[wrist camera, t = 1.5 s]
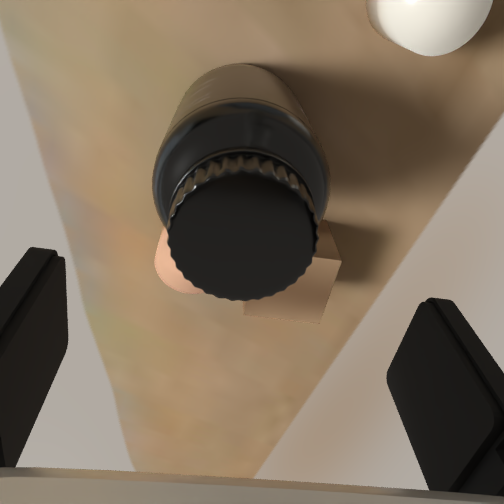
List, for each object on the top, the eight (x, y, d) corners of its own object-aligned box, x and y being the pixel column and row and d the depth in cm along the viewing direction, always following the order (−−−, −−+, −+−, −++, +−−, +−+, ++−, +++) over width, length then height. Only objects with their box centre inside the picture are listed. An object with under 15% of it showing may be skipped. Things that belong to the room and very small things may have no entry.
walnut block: (254, 209, 27) (258, 249, 23) (326, 220, 27) (341, 260, 23) (241, 269, 29) (243, 315, 25) (308, 278, 29) (319, 323, 26)
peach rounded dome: (166, 193, 26) (157, 227, 22) (234, 203, 26) (235, 237, 23) (161, 250, 28) (152, 289, 24) (224, 258, 28) (223, 297, 25)
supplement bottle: (328, 111, 23) (402, 220, 13) (254, 206, 26) (268, 355, 16) (220, 29, 21) (211, 84, 11) (151, 143, 24) (93, 270, 14)
